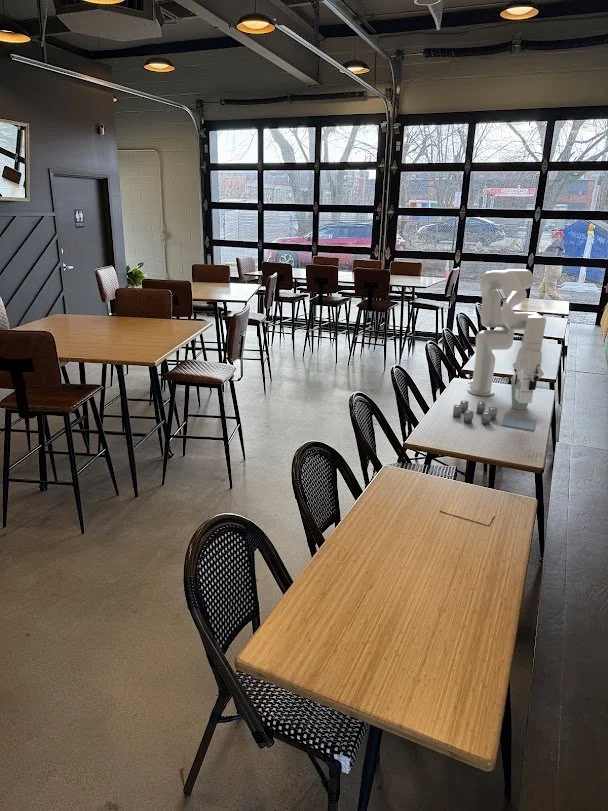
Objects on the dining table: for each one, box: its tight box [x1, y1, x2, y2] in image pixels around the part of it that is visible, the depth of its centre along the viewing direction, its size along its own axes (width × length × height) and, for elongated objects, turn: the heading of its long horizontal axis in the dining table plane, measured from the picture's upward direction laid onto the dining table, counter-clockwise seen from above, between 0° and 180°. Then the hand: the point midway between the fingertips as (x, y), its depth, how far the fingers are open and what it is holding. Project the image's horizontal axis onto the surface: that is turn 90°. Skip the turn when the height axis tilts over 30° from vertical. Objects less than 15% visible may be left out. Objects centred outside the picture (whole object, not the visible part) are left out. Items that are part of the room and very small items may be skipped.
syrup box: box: [514, 369, 536, 404], centre depth 228 cm, size 6×6×14 cm
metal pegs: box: [452, 400, 499, 426], centre depth 239 cm, size 19×17×5 cm
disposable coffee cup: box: [510, 374, 529, 410], centre depth 251 cm, size 11×11×15 cm
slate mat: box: [500, 414, 537, 432], centre depth 234 cm, size 13×13×1 cm
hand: (524, 386), depth 229 cm, fingers closed on syrup box, 7 cm apart
